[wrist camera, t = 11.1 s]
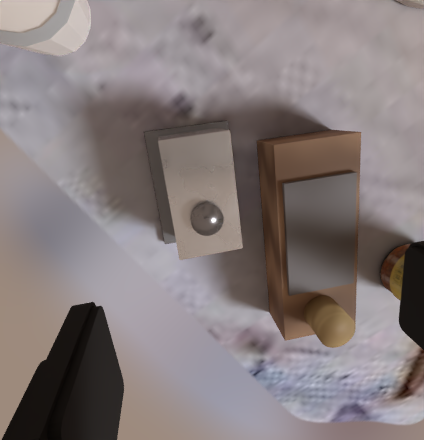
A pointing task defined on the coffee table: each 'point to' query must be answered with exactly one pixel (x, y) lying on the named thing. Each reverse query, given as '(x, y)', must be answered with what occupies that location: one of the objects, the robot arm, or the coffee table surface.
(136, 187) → the coffee table surface
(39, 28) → the white cylinder
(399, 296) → the sauce bottle
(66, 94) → the coffee table surface
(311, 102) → the coffee table surface
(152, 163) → the rubber mat
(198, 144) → the grey box with knob
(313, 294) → the hand plane
